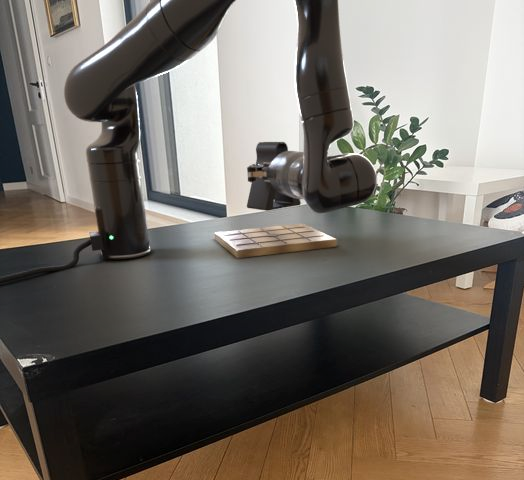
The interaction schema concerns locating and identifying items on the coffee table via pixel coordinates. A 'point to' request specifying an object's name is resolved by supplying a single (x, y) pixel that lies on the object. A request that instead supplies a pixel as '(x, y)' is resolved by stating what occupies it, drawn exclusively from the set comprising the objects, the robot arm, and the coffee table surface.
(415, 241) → the coffee table surface
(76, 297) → the coffee table surface
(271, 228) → the board
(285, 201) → the phone stand
